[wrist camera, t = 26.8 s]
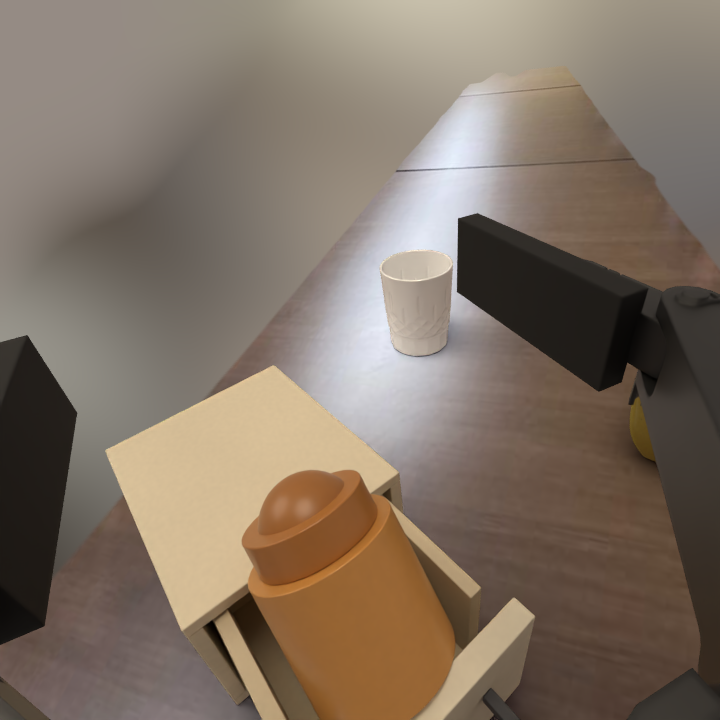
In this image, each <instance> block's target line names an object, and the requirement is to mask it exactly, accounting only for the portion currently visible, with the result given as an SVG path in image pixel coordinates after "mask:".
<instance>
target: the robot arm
mask: <svg viewBox="0 0 720 720" xmlns="http://www.w3.org/2000/svg"><path fill="white" fill-rule="evenodd" d="M457 292H458V293H459V294H461V295H462V296H464V297H465V298H467V299H468V300H469V301H471V302H472V303H474V304H475V305H476V306H478V307H479V308H481V309H482V310H484V311H485V312H486V313H488V314H489V315H491V316H492V317H494V318H495V319H496V320H498V321H499V322H501V323H502V324H503V325H505V326H506V327H508V328H509V329H511V330H512V331H513V332H515V333H516V334H518V335H519V336H520V337H522V338H523V339H525V340H526V341H528V342H529V343H530V344H532V345H533V346H535V347H536V348H538V349H539V350H540V351H542V352H543V353H545V354H546V355H547V356H549V357H550V358H552V359H553V360H555V361H556V362H557V363H559V364H560V365H562V366H563V367H564V368H566V369H567V370H569V371H570V372H572V373H573V374H574V375H576V376H577V377H579V378H580V379H582V380H583V381H584V382H586V383H587V384H589V385H590V386H591V387H593V388H594V389H596V390H597V391H602V390H604V389H606V388H609V387H611V386H614V385H616V384H618V383H621V382H622V379H623V375H624V372H625V368H626V365H627V362H628V363H629V364H631V365H633V366H634V367H636V368H637V369H638V372H637V375H636V379H635V382H634V385H633V388H632V391H631V395H630V398H629V405H633V404H634V401H635V399H636V398H637V397H639V398H640V402H641V404H640V406H642V409H643V413H644V417H645V421H646V425H647V429H648V433H649V437H650V440H651V444H652V448H653V452H654V456H655V460H656V464H657V468H658V471H659V475H660V479H661V483H662V487H663V491H664V495H665V498H666V502H667V506H668V510H669V514H670V518H671V522H672V526H673V529H674V533H675V537H676V541H677V545H678V549H679V553H680V557H681V560H682V564H683V568H684V572H685V576H686V580H687V584H688V588H689V591H690V595H691V599H692V603H693V607H694V611H695V615H696V618H697V622H698V626H699V631H700V639H701V648H700V656H699V664H698V672H699V675H698V674H697V673H696V671H695V670H694V669H693V668H691V669H690V670H688V671H687V672H685V673H684V674H682V675H681V676H679V677H678V678H676V679H675V680H673V681H672V682H670V683H669V684H667V685H666V686H664V687H663V688H661V689H660V690H658V691H657V692H655V693H654V694H652V695H651V696H649V697H648V698H646V699H645V700H643V701H642V702H640V703H639V704H637V705H636V707H635V708H634V710H633V711H632V713H631V714H630V715H629V717H628V718H627V720H720V294H718V293H716V292H713V291H711V290H707V289H703V288H699V287H691V286H678V287H672V288H669V289H666V290H665V291H664V292H662V291H660V290H657V289H655V288H653V287H650V286H648V285H646V284H644V283H641V282H639V281H637V280H634V279H632V278H630V277H627V276H625V275H620V273H618V272H616V271H613V270H611V269H609V270H608V269H607V268H606V267H604V266H602V265H600V264H597V263H595V262H593V261H588V260H584V259H581V258H579V257H576V256H574V255H572V254H570V253H567V252H565V251H563V250H560V249H558V248H556V247H554V246H551V245H549V244H547V243H544V242H542V241H540V240H537V239H535V238H533V237H531V236H528V235H526V234H524V233H521V232H519V231H517V230H515V229H512V228H510V227H508V226H505V225H503V224H501V223H499V222H496V221H494V220H492V219H489V218H487V217H485V216H482V215H480V214H478V213H477V214H473V215H469V216H466V217H462V218H458V260H457ZM76 417H77V412H76V410H75V409H74V407H73V405H72V404H71V402H70V401H69V399H68V398H67V396H66V395H65V393H64V391H63V390H62V389H61V387H60V385H59V384H58V382H57V381H56V379H55V378H54V376H53V374H52V373H51V371H50V370H49V368H48V367H47V365H46V364H45V362H44V361H43V359H42V357H41V356H40V354H39V353H38V351H37V349H36V348H35V347H34V345H33V343H32V342H31V340H30V339H29V337H28V336H27V335H26V336H23V337H18V338H15V339H11V340H7V341H4V342H0V645H1V644H3V643H6V642H8V641H10V640H13V639H15V638H18V637H20V636H22V635H25V634H27V633H29V632H32V631H34V630H36V629H39V628H41V627H44V626H45V619H46V613H47V606H48V600H49V593H50V587H51V580H52V573H53V566H54V560H55V554H56V547H57V540H58V534H59V528H60V521H61V514H62V508H63V501H64V495H65V489H66V482H67V476H68V469H69V463H70V455H71V450H72V443H73V436H74V430H75V423H76ZM0 720H50V719H49V718H48V717H47V716H45V715H44V714H43V713H42V712H41V711H40V710H39V709H37V708H36V707H35V706H34V705H33V704H32V703H30V702H29V701H28V700H27V699H26V698H25V697H23V696H22V695H21V694H20V693H19V692H18V691H16V690H15V689H14V688H13V687H12V686H11V685H10V684H8V683H7V682H6V681H5V680H4V679H3V678H1V677H0Z"/></svg>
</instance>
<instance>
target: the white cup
mask: <svg viewBox="0 0 720 720" xmlns="http://www.w3.org/2000/svg"><path fill="white" fill-rule="evenodd" d="M452 271H453V261H452V259H451V258H450V257H449V256H447V255H446V254H444V253H441V252H437V251H432V250H411V251H405V252H401V253H397V254H395V255H392V256H390V257H388V258H387V259H385V260H384V261H383V262H382V263H381V265H380V274H381V281H382V288H383V295H384V302H385V308H386V313H387V320H388V325H389V327H390V335H391V341H392V344H393V346H394V348H395V349H396V350H398V351H400V352H401V353H403V354H407V355H412V356H423V355H430V354H432V353H435V352H438V351H440V350H441V349H442V348H443V347H444V346H445V345H446V343H447V338H448V324H449V321H450V308H451V290H452Z"/></svg>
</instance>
